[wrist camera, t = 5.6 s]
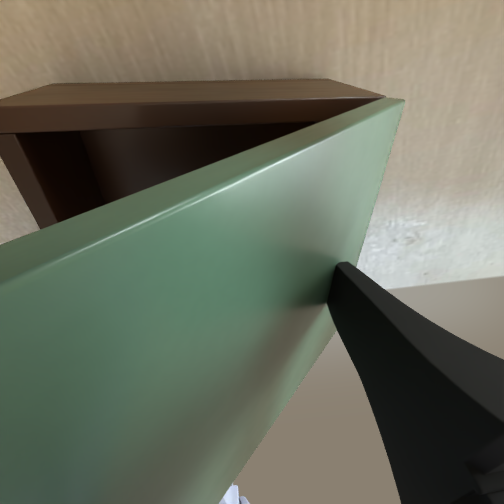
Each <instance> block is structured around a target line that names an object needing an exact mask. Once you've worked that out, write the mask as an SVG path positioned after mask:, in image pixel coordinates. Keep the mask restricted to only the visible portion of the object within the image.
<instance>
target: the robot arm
mask: <svg viewBox="0 0 504 504" xmlns="http://www.w3.org/2000/svg"><path fill="white" fill-rule="evenodd" d="M327 306H328V309H329V312H330V315H331V318H332V320H333V323H334V325H335V327H336V329H337V331H338V333H339V335H340V337H341V339H342V341H343V343H344V345H345V347H346V349H347V351H348V353H349V355H350V357H351V360H352V362H353V364H354V366H355V368H356V370H357V372H358V374H359V376H360V379H361V381H362V384H363V386H364V389H365V392H366V394H367V397H368V400H369V402H370V405H371V408H372V411H373V413H374V416H375V419H376V422H377V425H378V428H379V431H380V434H381V437H382V440H383V443H384V446H385V449H386V452H387V456H388V459H389V462H390V465H391V468H392V472H393V476H394V479H395V482H396V486H397V489H398V493H399V496H400V500H401V504H504V360H503V359H501V358H499V357H497V356H494V355H492V354H490V353H488V352H486V351H484V350H482V349H480V348H478V347H476V346H474V345H472V344H470V343H468V342H467V341H465V340H463V339H461V338H459V337H457V336H455V335H454V334H452V333H450V332H448V331H447V330H445V329H443V328H441V327H440V326H438V325H436V324H435V323H433V322H431V321H430V320H428V319H427V318H425V317H423V316H422V315H420V314H419V313H417V312H416V311H414V310H413V309H411V308H410V307H408V306H407V305H405V304H404V303H402V302H401V301H400V300H398V299H397V298H395V297H394V296H393V295H391V294H390V293H389V292H387V291H386V290H385V289H383V288H382V287H381V286H379V285H378V284H377V283H376V282H374V281H373V280H372V279H370V278H369V277H368V276H366V275H365V274H364V273H363V272H361V271H360V270H359V269H357V268H356V267H355V266H354V265H352V264H351V263H349V262H348V261H345V262H339V263H338V264H337V265H336V267H335V271H334V275H333V279H332V284H331V288H330V292H329V296H328V300H327ZM219 504H250V503H249V502H248V501H247V499H246V498H245V496H241V497H239V495H238V486H237V485H234V486H233V483H232V485H231V486H230V488H229V489H228V491H227V492H226V494H225V495H224V496H223V498H222V499H221V501H220V502H219Z"/></svg>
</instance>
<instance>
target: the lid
mask: <svg viewBox="0 0 504 504" xmlns="http://www.w3.org/2000/svg"><path fill="white" fill-rule="evenodd" d="M404 105H405V100H403V99H395V98H382V99H379V100H377V101H374V102H371V103H369V104H366V105H364V106H361V107H358V108H356V109H353V110H351V111H348V112H345V113H343V114H340V115H338V116H335V117H332V118H330V119H327V120H325V121H322V122H319V123H317V124H314V125H312V126H309V127H306V128H304V129H301V130H299V131H296V132H293V133H291V134H288V135H286V136H283V137H280V138H278V139H275V140H273V141H270V142H267V143H265V144H262V145H259V146H257V147H254V148H252V149H249V150H246V151H244V152H241V153H239V154H236V155H233V156H231V157H228V158H226V159H223V160H220V161H218V162H215V163H213V164H210V165H207V166H205V167H202V168H200V169H197V170H194V171H192V172H189V173H187V174H184V175H181V176H179V177H176V178H174V179H171V180H168V181H166V182H163V183H161V184H158V185H155V186H153V187H150V188H148V189H145V190H142V191H140V192H137V193H134V194H132V195H129V196H127V197H124V198H121V199H119V200H116V201H114V202H111V203H108V204H106V205H103V206H101V207H98V208H95V209H93V210H90V211H88V212H85V213H82V214H80V215H77V216H75V217H72V218H69V219H67V220H64V221H62V222H59V223H56V224H54V225H51V226H49V227H46V228H43V229H41V230H38V231H36V232H33V233H30V234H28V235H25V236H23V237H20V238H17V239H15V240H12V241H9V242H7V243H4V244H2V245H0V504H219V502H220V501H221V499H222V498H223V496H224V495H225V494H226V492H227V491H228V489H229V488H230V486H231V485H232V483H233V482H234V480H235V479H236V477H237V476H238V474H239V473H240V472H241V470H242V469H243V467H244V466H245V464H246V463H247V461H248V460H249V458H250V457H251V455H252V454H253V452H254V451H255V449H256V448H257V446H258V445H259V444H260V442H261V441H262V439H263V438H264V436H265V435H266V433H267V432H268V430H269V429H270V428H271V426H272V425H273V423H274V422H275V420H276V419H277V417H278V416H279V414H280V413H281V411H282V410H283V408H284V407H285V405H286V404H287V403H288V401H289V399H290V398H291V397H292V395H293V394H294V392H295V391H296V389H297V388H298V386H299V385H300V383H301V382H302V381H303V379H304V378H305V376H306V375H307V373H308V372H309V370H310V369H311V367H312V366H313V364H314V363H315V361H316V360H317V358H318V357H319V356H320V354H321V353H322V351H323V350H324V348H325V346H326V345H327V344H328V342H329V341H330V339H331V338H332V337H333V335H334V334H335V332H336V331H337V329H336V327H335V325H334V323H333V320H332V318H331V315H330V312H329V309H328V306H327V300H328V296H329V292H330V288H331V284H332V279H333V275H334V271H335V267H336V265H337V264H338V263H339V262H345V261H348V262H349V263H351V264H352V265H354V266H355V267H356V266H357V262H358V259H359V256H360V252H361V249H362V246H363V242H364V239H365V236H366V232H367V229H368V225H369V222H370V219H371V215H372V212H373V209H374V205H375V202H376V199H377V195H378V192H379V189H380V185H381V182H382V179H383V175H384V172H385V168H386V165H387V162H388V158H389V155H390V152H391V148H392V145H393V142H394V138H395V135H396V132H397V128H398V125H399V121H400V118H401V115H402V111H403V108H404Z"/></svg>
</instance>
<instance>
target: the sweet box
mask: <svg viewBox="0 0 504 504" xmlns="http://www.w3.org/2000/svg"><path fill="white" fill-rule="evenodd" d="M382 98H386V96H384V95H381V94H377V93H374V92H371V91H367V90H364V89H361V88H357V87H354V86H351V85H347V84H344V83H341V82H337V81H334V80H331V79H284V80H229V81H174V82H119V83H64V84H50V85H46V86H43V87H40V88H37V89H33V90H30V91H27V92H23V93H20V94H17V95H13V96H10V97H7V98H4V99H0V156H1V158H2V160H3V162H4V164H5V165H6V167H7V169H8V171H9V173H10V174H11V176H12V178H13V180H14V182H15V184H16V185H17V187H18V189H19V191H20V193H21V195H22V196H23V198H24V200H25V202H26V204H27V206H28V207H29V209H30V211H31V213H32V215H33V217H34V218H35V220H36V222H37V224H38V226H39V227H40V229H43V228H46V227H49V226H51V225H54V224H56V223H59V222H62V221H64V220H67V219H69V218H72V217H75V216H77V215H80V214H82V213H85V212H88V211H90V210H93V209H95V208H98V207H101V206H103V205H106V204H108V203H111V202H114V201H116V200H119V199H121V198H124V197H127V196H129V195H132V194H134V193H137V192H140V191H142V190H145V189H148V188H150V187H153V186H155V185H158V184H161V183H163V182H166V181H168V180H171V179H174V178H176V177H179V176H181V175H184V174H187V173H189V172H192V171H194V170H197V169H200V168H202V167H205V166H207V165H210V164H213V163H215V162H218V161H220V160H223V159H226V158H228V157H231V156H233V155H236V154H239V153H241V152H244V151H246V150H249V149H252V148H254V147H257V146H259V145H262V144H265V143H267V142H270V141H273V140H275V139H278V138H280V137H283V136H286V135H288V134H291V133H293V132H296V131H299V130H301V129H304V128H306V127H309V126H312V125H314V124H317V123H319V122H322V121H325V120H327V119H330V118H332V117H335V116H338V115H340V114H343V113H345V112H348V111H351V110H353V109H356V108H358V107H361V106H364V105H366V104H369V103H371V102H374V101H377V100H379V99H382Z"/></svg>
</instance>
